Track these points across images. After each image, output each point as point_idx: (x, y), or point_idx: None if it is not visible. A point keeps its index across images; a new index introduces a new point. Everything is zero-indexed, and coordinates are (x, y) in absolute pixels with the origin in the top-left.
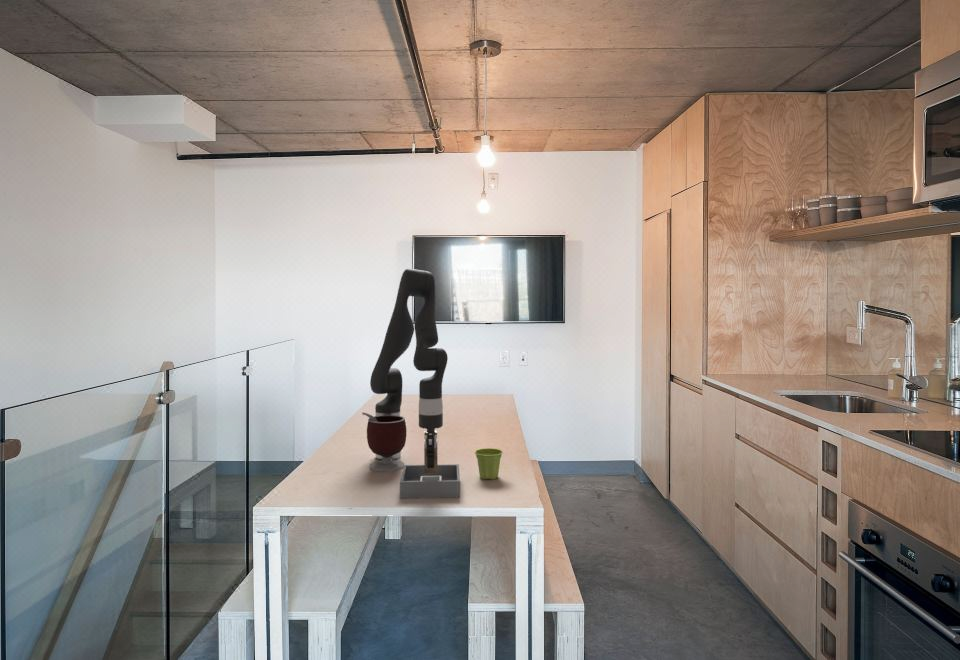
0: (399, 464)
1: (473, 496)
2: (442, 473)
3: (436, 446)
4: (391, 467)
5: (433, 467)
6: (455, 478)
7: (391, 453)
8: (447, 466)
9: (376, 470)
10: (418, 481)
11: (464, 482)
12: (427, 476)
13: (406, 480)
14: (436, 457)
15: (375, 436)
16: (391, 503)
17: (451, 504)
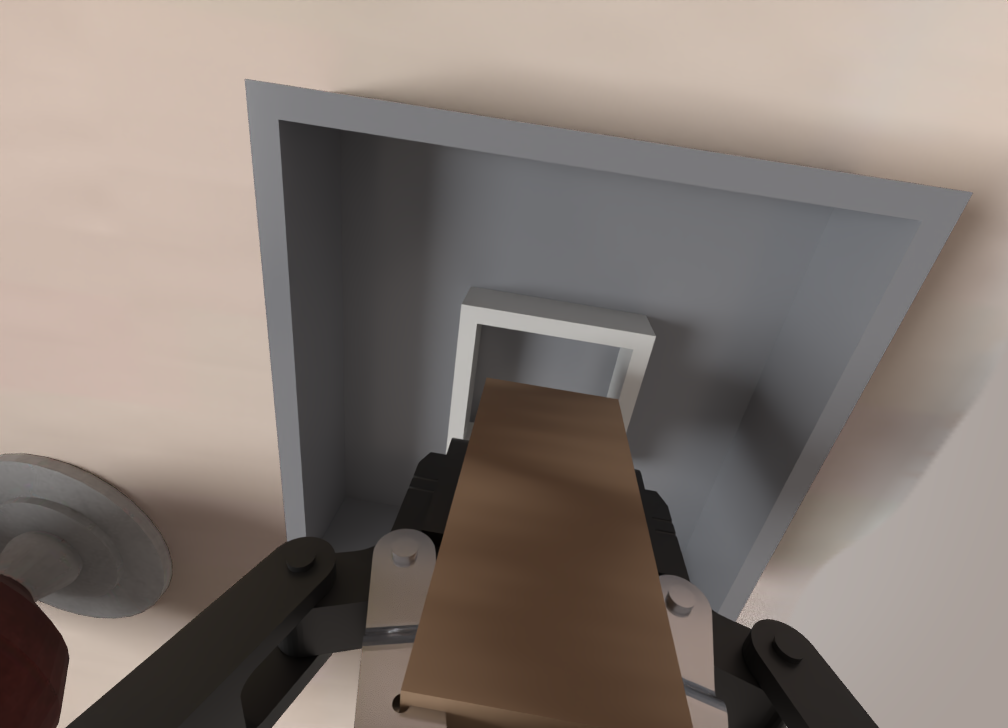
0: (36, 488)
1: (894, 22)
2: (328, 266)
3: (680, 702)
4: (112, 533)
5: (639, 475)
6: (384, 140)
7: (41, 623)
8: (294, 233)
9: (164, 591)
10: (766, 554)
11: (429, 46)
12: (466, 417)
13: None
14: (642, 526)
15: None
16: (757, 596)
17: (989, 277)
